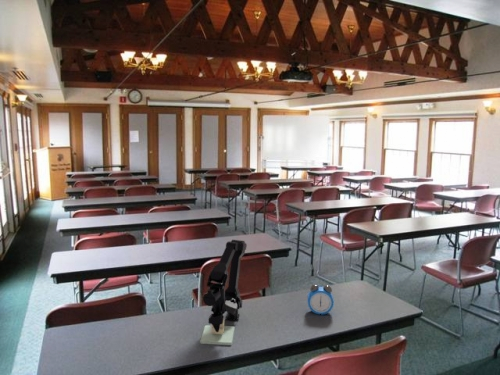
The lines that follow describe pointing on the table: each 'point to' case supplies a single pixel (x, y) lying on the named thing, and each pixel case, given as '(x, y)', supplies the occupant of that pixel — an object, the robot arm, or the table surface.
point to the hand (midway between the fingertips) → (218, 328)
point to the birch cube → (221, 329)
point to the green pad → (217, 336)
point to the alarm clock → (320, 299)
